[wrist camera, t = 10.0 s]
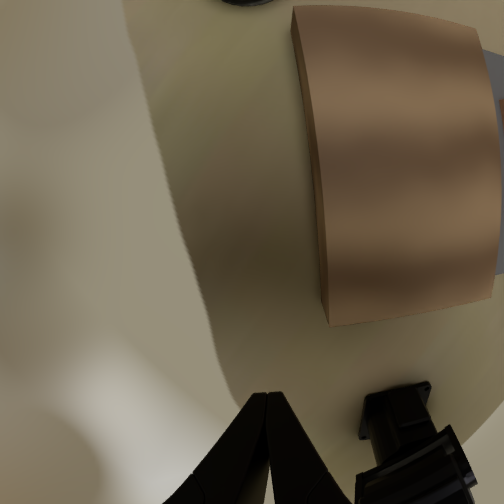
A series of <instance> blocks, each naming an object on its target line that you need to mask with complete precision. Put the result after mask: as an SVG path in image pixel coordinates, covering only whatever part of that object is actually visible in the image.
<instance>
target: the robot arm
mask: <svg viewBox="0 0 504 504" xmlns="http://www.w3.org/2000/svg"><path fill="white" fill-rule="evenodd" d="M431 387H432V386H431V384H430V383H429V382H425V383H422V384H418V385H414V386H409V387H405V388H401V389H396V390H392V391H387V392H382V393H377V394H372V395H368V396H367V397H366V398H365V400H364V407H363V413H362V419H361V424H360V430H359V435H358V436H359V440H367V439H370V440H371V444H372V448H373V452H374V456H375V460H376V464H377V467H375V468H373V469H370V470H368V471H366V472H364V473H363V472H361V473H359V474H357V475H356V483H355V502H354V504H475V502H474V498H473V496H472V493H471V491H470V488H472V487H473V486H475V485H476V484H478V483H477V480H476V478H475V476H474V473H473V471H472V469H471V467H470V464H469V462H468V460H467V458H466V456H465V453H464V451H463V449H462V447H461V445H460V443H459V441H458V439H457V437H456V435H455V433H454V431H453V429H452V427H451V425H450V424H449V425H448V426H446V427H445V429H443V430H442V431H440V432H439V433H438V432H437V430H436V428H435V426H434V424H433V422H432V419H431V416H430V414H429V412H428V410H427V408H426V403H427V400H428V397H429V394H430V391H431ZM269 467H270V470H271V477H272V485H273V493H274V500H275V504H352V503H351V502H350V501H349V499H348V498H347V497H346V496H345V495H344V493H343V492H342V490H341V489H340V487H339V486H338V484H337V483H336V482H335V480H334V478H333V477H332V475H331V474H330V472H328V469H327V467H326V466H325V464H324V462H323V461H322V459H321V457H320V456H319V454H318V452H317V451H316V449H315V447H314V446H313V444H312V442H311V441H310V439H309V437H308V436H307V434H306V432H305V430H304V429H303V427H302V425H301V424H300V422H299V420H298V418H297V417H296V415H295V413H294V412H293V410H292V408H291V406H290V405H289V403H288V401H287V399H286V397H285V396H284V394H283V393H282V392H281V391H279V392H269V393H268V394H267V393H266V392H262V393H253V394H252V395H251V397H250V398H249V399H248V401H247V402H246V404H245V405H244V406H243V408H242V409H241V410H240V412H239V413H238V415H237V416H236V417H235V419H234V420H233V421H232V423H231V424H230V425H229V427H228V428H227V429H226V431H225V432H224V433H223V434H222V436H221V437H220V438H219V440H218V441H217V442H216V444H215V445H214V446H213V447H212V449H211V450H210V451H209V452H208V454H207V455H206V456H205V457H204V459H203V460H202V461H201V462H200V464H199V465H198V466H197V467H196V468H195V470H194V471H193V474H190V475H189V477H188V478H187V479H186V480H185V481H184V483H183V484H182V485H181V486H180V487H179V488H178V489H177V490H176V491H175V492H174V493H173V495H171V496H170V497H169V498H168V499H167V500H166V501H165V502H164V503H163V504H263V503H264V498H265V492H266V486H267V480H268V473H269Z"/></svg>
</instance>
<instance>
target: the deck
mask: <svg viewBox="0 0 504 504" xmlns="http://www.w3.org/2000/svg"><path fill="white" fill-rule="evenodd" d="M291 35H292V41H293V46H294V51H295V57H296V62H297V68H298V74H299V80H300V86H301V92H302V98H303V105H304V112H305V119H306V126H307V134H308V141H309V150H310V158H311V167H312V176H313V186H314V196H315V207H316V218H317V231H318V245H319V261H320V280H321V301H322V304H323V308H324V311H325V314H326V318H327V321H328V324H329V327H336V326H344V325H352V324H359V323H366V322H373V321H379V320H385V319H391V318H397V317H403V316H409V315H414V314H420V313H425V312H430V311H435V310H440V309H445V308H449V307H454V306H458V305H463V304H467V303H472V302H476V301H480V300H484V299H488V298H491V295H492V290H493V284H494V278H495V272H496V265H497V257H498V248H499V237H500V224H501V195H502V186H501V157H500V144H499V134H498V125H497V117H496V111H495V104H494V98H493V93H492V88H491V83H490V78H489V74H488V70H487V66H486V62H485V58H484V54H483V51H482V47H481V44H480V40H479V37H478V34H477V31H476V29H474V28H471V27H468V26H465V25H461V24H458V23H454V22H450V21H446V20H442V19H438V18H433V17H429V16H424V15H419V14H414V13H408V12H402V11H395V10H387V9H379V8H369V7H356V6H333V5H308V6H293V14H292V22H291Z"/></svg>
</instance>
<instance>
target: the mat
mask: <svg viewBox="0 0 504 504" xmlns="http://www.w3.org/2000/svg"><path fill="white" fill-rule="evenodd" d="M482 51H483V54H484V58H485V62H486V66H487V70H488V74H489V78H490V83H491V88H492V93H493V98H494V104H495V111H496V117H497V125H498V134H499V144H500V157H501V186H502V195H501V224H500V237H499V248H498V257H497V265H496V272H495V275H498V274H502V273H504V130H503V122H502V115H501V109H500V103H499V100H501V99H504V56H501V55H498V54H495V53H492V52H489V51H486V50H483V49H482Z"/></svg>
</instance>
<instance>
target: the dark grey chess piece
mask: <svg viewBox="0 0 504 504" xmlns="http://www.w3.org/2000/svg"><path fill="white" fill-rule="evenodd" d="M222 1H224V2H226V3H229V4H232V5H237V6H256V5H261V4H265V3H267V2H270V1H273V0H222Z"/></svg>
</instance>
